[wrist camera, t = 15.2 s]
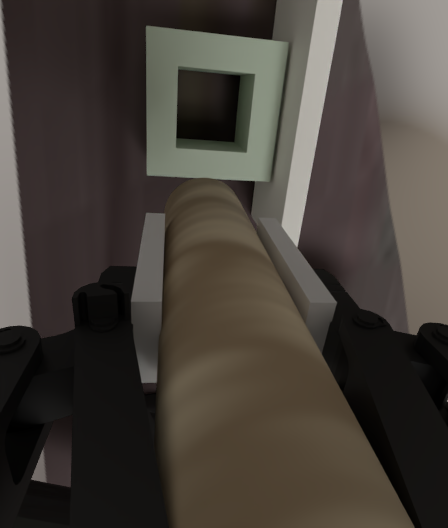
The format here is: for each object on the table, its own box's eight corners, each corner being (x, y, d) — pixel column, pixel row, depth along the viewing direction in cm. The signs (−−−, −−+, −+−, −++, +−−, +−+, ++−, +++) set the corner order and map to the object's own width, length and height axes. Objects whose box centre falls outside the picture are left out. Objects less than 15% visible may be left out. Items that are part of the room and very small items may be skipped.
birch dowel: (192, 264, 20) (244, 703, 6) (148, 206, 18) (74, 642, 4) (255, 225, 20) (469, 612, 6) (215, 161, 18) (383, 497, 4)
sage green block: (149, 161, 34) (146, 175, 29) (149, 35, 30) (146, 25, 25) (254, 167, 36) (269, 181, 31) (268, 49, 32) (288, 42, 26)
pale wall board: (251, 215, 38) (276, 255, 29) (279, -21, 30) (328, -66, 21) (265, 216, 39) (295, 255, 30) (298, -19, 30) (354, -61, 21)
